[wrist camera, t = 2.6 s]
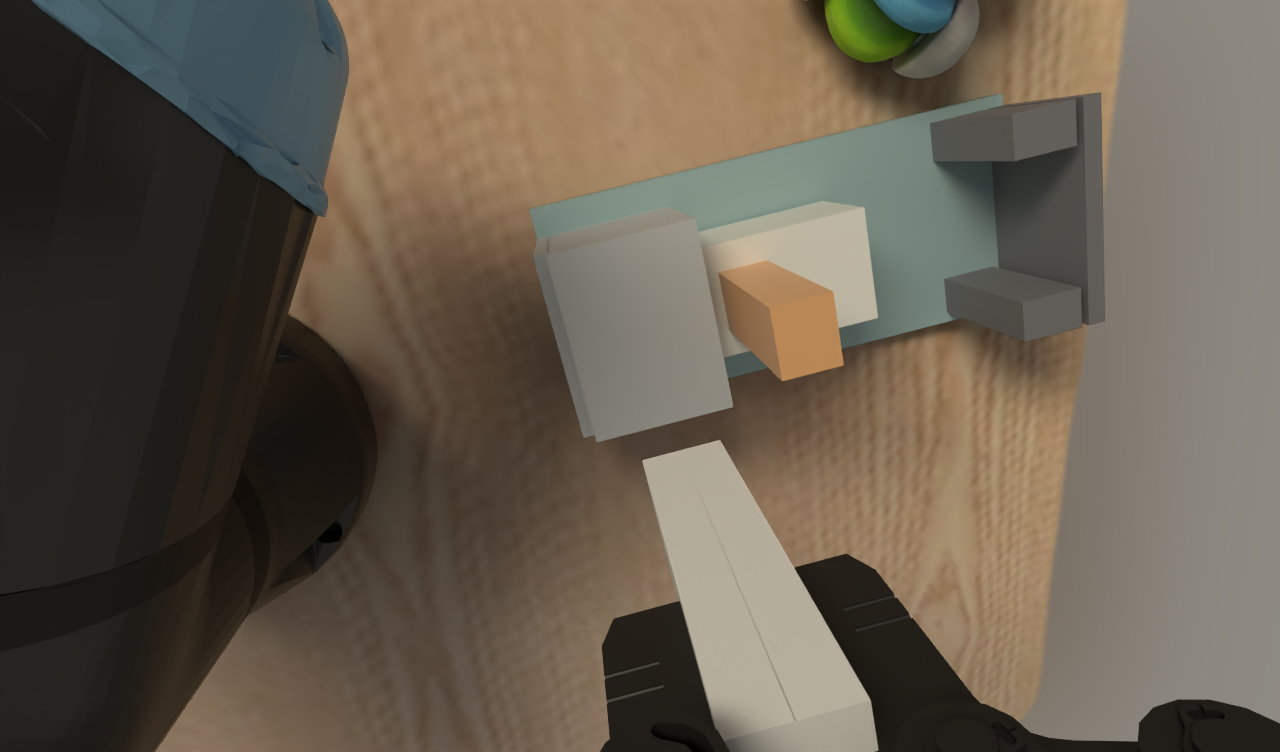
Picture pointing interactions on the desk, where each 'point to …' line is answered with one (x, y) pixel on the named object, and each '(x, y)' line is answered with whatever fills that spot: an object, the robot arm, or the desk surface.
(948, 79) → the desk surface
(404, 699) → the desk surface
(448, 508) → the desk surface
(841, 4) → the rainbow disc toy
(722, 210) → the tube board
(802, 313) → the block with wooden peg
